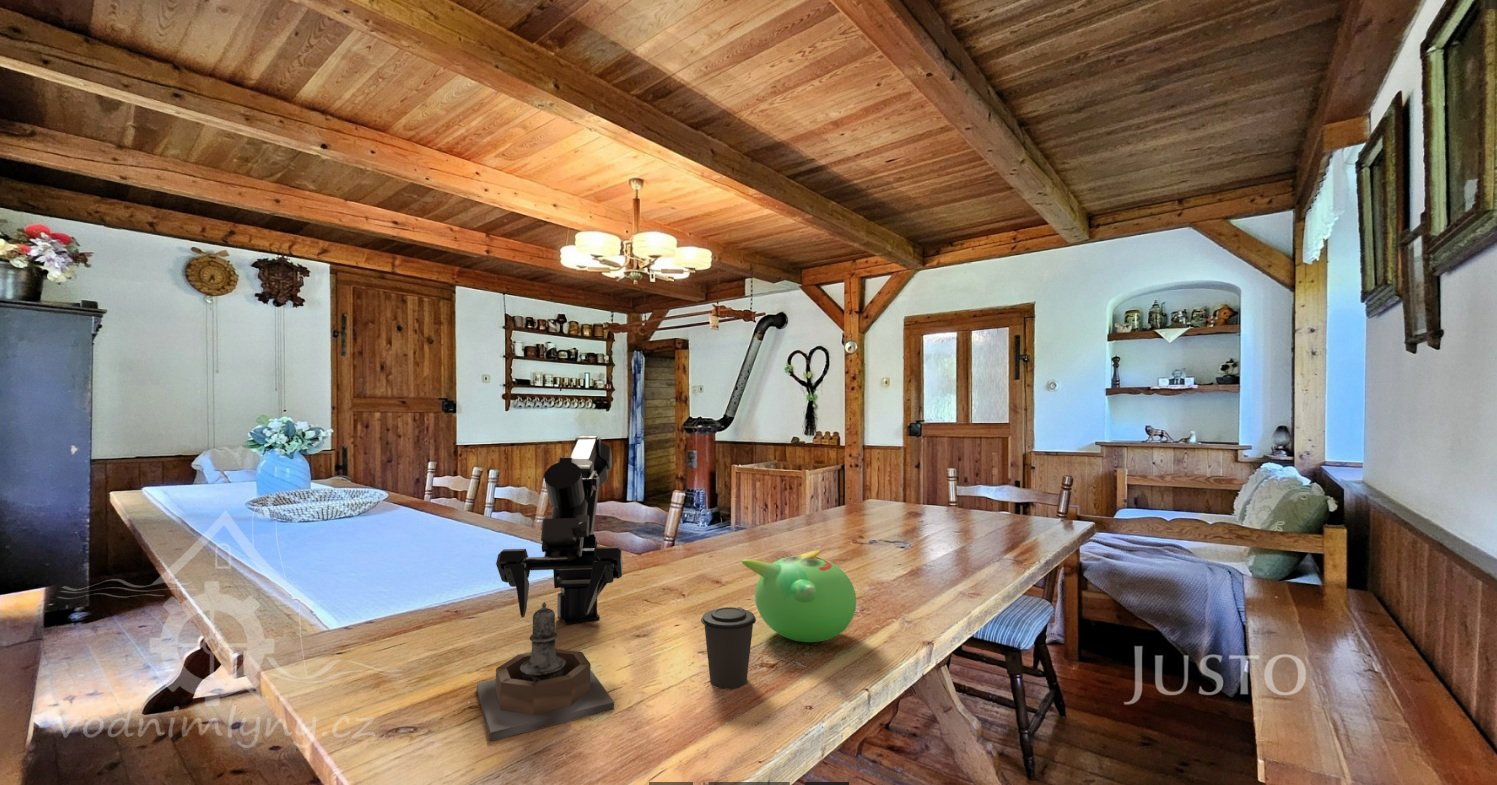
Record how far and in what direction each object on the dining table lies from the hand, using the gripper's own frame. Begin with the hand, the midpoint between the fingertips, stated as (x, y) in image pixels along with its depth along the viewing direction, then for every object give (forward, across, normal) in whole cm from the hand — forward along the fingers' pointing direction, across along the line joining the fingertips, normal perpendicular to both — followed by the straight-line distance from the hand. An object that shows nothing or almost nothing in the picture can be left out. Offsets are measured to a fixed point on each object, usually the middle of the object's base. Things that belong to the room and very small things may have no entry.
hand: (554, 614), depth 88 cm
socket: (+12, 0, +1) cm, 12 cm away
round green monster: (0, +40, +13) cm, 42 cm away
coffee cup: (+10, +26, +3) cm, 28 cm away
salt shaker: (+11, 0, 0) cm, 11 cm away
